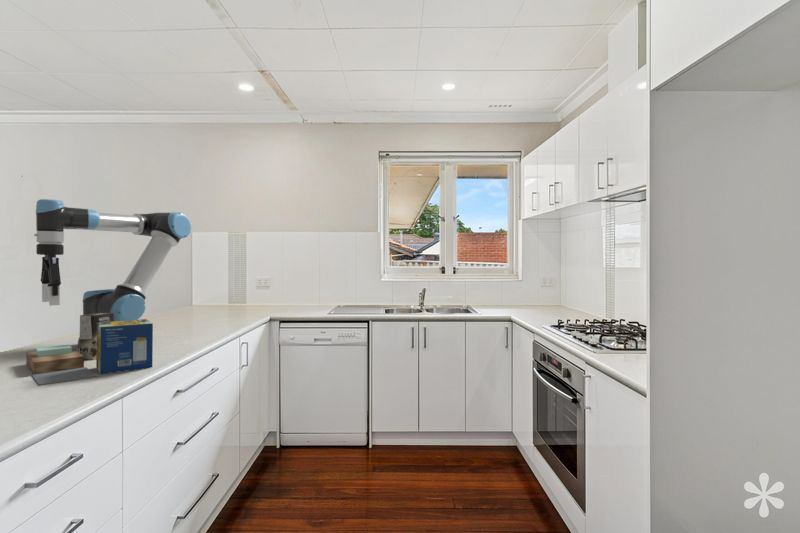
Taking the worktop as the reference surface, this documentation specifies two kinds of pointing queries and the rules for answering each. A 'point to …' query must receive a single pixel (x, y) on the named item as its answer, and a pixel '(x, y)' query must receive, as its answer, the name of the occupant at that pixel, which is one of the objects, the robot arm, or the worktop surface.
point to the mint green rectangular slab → (53, 350)
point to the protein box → (124, 345)
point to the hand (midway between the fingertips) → (50, 303)
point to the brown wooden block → (54, 362)
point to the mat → (63, 376)
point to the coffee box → (91, 332)
